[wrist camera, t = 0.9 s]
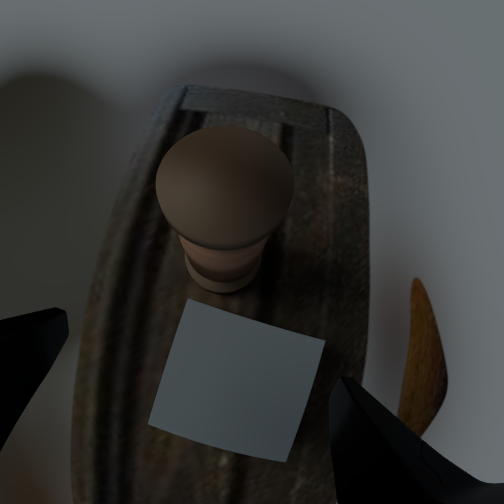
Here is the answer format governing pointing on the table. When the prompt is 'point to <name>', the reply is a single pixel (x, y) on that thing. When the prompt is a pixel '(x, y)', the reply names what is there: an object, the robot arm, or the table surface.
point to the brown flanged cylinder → (224, 202)
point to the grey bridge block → (236, 383)
